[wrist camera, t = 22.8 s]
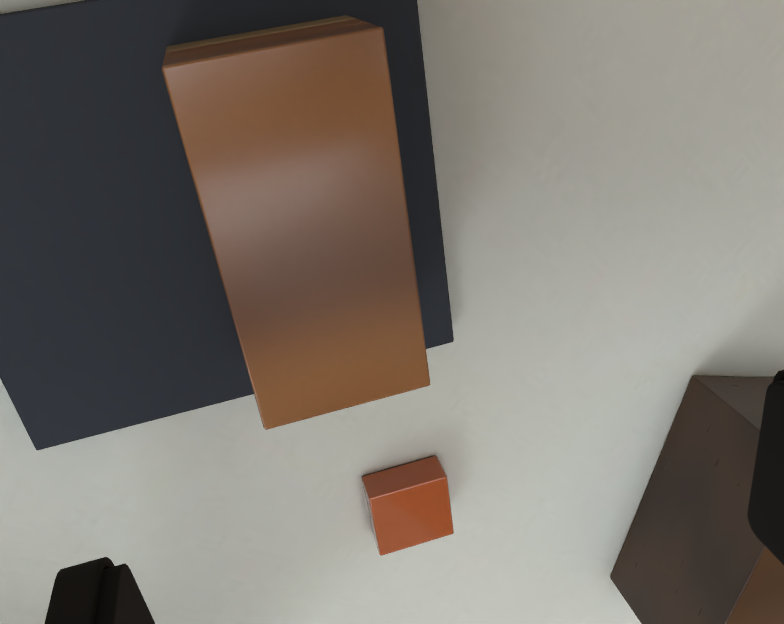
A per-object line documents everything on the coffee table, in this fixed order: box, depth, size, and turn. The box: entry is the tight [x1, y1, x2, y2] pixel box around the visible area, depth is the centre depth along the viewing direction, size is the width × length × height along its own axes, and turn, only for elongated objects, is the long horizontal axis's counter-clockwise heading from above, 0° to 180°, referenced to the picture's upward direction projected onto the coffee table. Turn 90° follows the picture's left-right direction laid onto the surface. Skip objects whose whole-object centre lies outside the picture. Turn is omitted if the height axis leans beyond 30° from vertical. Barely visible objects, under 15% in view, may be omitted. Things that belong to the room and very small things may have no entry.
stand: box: [611, 376, 784, 624], centre depth 34 cm, size 13×7×7 cm, turn 170°
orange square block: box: [362, 456, 454, 555], centre depth 31 cm, size 4×4×2 cm
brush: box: [162, 15, 430, 429], centre depth 21 cm, size 11×6×4 cm, turn 8°
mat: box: [0, 0, 454, 450], centre depth 23 cm, size 16×14×1 cm
